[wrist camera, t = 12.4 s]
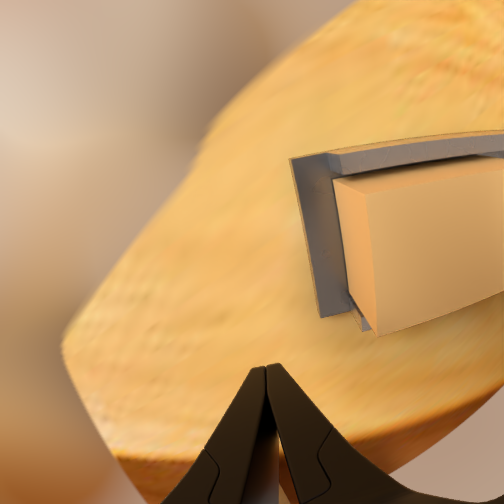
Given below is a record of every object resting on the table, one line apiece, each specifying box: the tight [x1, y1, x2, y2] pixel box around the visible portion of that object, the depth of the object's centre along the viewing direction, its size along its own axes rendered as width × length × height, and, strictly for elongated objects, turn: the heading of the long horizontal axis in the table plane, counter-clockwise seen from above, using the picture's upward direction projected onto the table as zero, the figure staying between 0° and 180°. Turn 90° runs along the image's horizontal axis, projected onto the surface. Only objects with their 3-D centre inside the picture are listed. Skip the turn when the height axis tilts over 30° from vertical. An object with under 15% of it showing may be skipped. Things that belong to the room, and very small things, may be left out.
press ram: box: [333, 155, 504, 337], centre depth 15 cm, size 11×7×5 cm, turn 103°
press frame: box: [289, 130, 504, 332], centre depth 15 cm, size 25×10×7 cm, turn 103°
